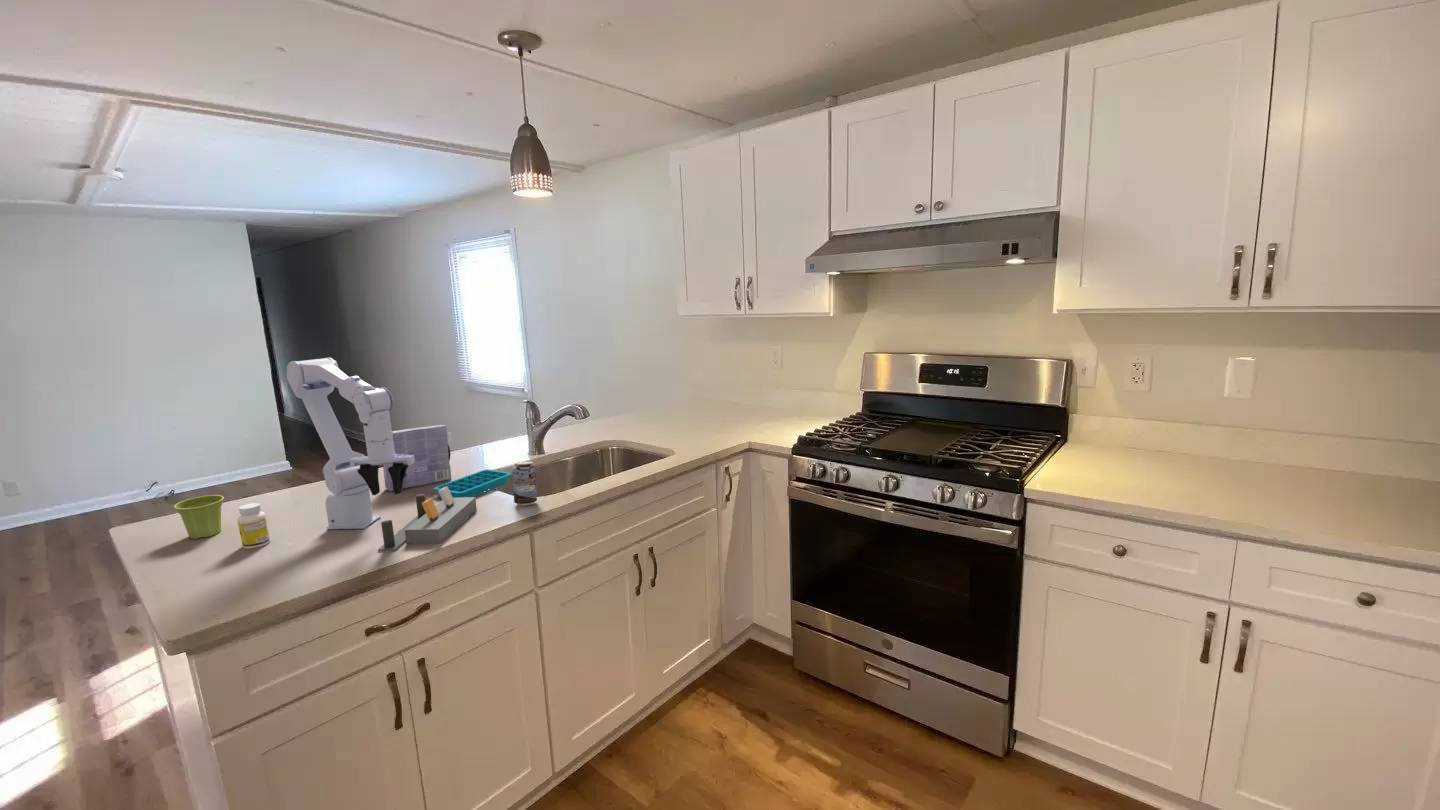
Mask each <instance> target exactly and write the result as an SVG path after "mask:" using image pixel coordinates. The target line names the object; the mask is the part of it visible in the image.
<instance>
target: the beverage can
mask: <svg viewBox="0 0 1440 810" xmlns="http://www.w3.org/2000/svg"><path fill="white" fill-rule="evenodd" d="M536 472H537V469H536V465H535V464H534V461H519V462H518V461H517V462H515V463H514V465H513V467H512V481H513V483H512V487H513V488H512V489H513V503H514V504H516V505H517V506H530V505H531V506H532V505H533V504H535V502H537V501H538V495H537V494H538V493H537V492H538V491H537V473H536Z"/></svg>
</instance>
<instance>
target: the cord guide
mask: <svg viewBox="0 0 1440 810" xmlns="http://www.w3.org/2000/svg"><path fill="white" fill-rule="evenodd" d="M426 500H427V499H426V495H425V494H424V493H419V494H417V495H415V501H416V503H415V504H416V510H417V515H416V516H415V517H413V519H411V521H410V522H408V523H407V524H406V525H405V526H403V527H402V528H401V529H400V530H399V531H398V532H397V533H394V526H393V525H394V524H393V520H391V519H387V520H384V521H382V522H381V523H380V524H381V530H382V531H381V533H382V538H383V544H382V545H381V546H380V547H379V548H378V549H377V552H378V553H381V552H383V553H385V552H386V551H388V552H397V551H398V550H399V549H400V548H401V547H403V545H405V544H406V543H405V542H406V536H405V529H407V528H408V527H409V526H410V525H412V524H413V523H414V522H416V521H417V520H418V519H419V518H421V517H422V516H423V515H424V514H426V512H425V510H424V508H423V506H422V503H423V502H424V501H426Z"/></svg>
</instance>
